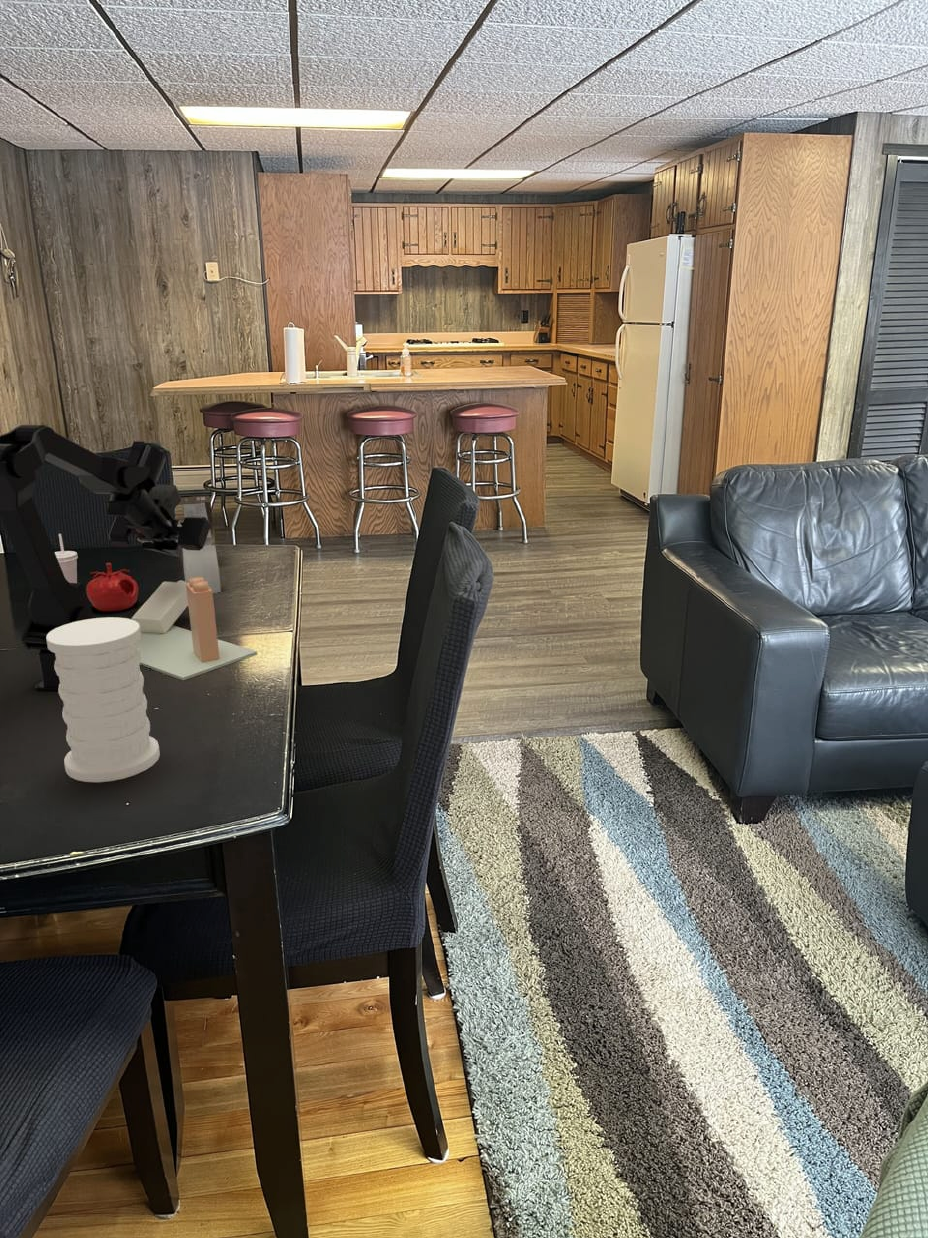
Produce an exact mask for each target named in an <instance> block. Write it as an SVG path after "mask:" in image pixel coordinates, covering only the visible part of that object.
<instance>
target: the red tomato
mask: <svg viewBox="0 0 928 1238" xmlns="http://www.w3.org/2000/svg"><path fill="white" fill-rule="evenodd" d="M105 566H106V568H107V569H106V572H104V571H103V572H99V571H94V572H89V573H90V574H95V573H96V574H95V575H94V576H93V578H92V580H90V581H89V582H88V583H87V585H86V587H85V589H86V593H87V597H88V599H89V600H90V602H91V603H92V605H91V606H92V607H94V608H95V609H97V610H98V611H99V612H100V611H101V612H105V613H106V612H109V613H110V612H119V611H124V610H128V609H130V608H132V607H133V606H134V605H136V603H137V600H138V595H139V586H138V583H137V581H136V580H135V579H133V578H132V576H130V575H128V574H126V573H125V572H127V573H129V572H130V569H129V570H127V569H126V568H125V569H123V568H122V569H121V570H118V571H114V572H113V571H112V563H111V562H106V563H105ZM124 571H125V572H124ZM123 572H124V573H123ZM98 575H100V576H98ZM97 576H98V577H97Z"/></svg>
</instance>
